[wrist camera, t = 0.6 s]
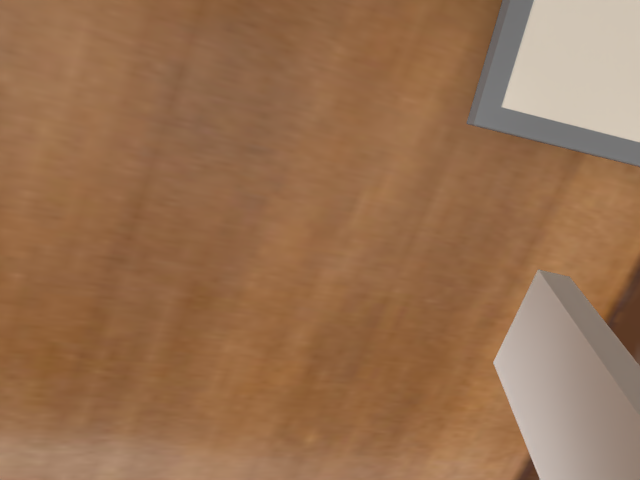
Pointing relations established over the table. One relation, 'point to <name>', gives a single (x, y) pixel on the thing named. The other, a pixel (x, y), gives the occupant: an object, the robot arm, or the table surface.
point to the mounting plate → (565, 76)
